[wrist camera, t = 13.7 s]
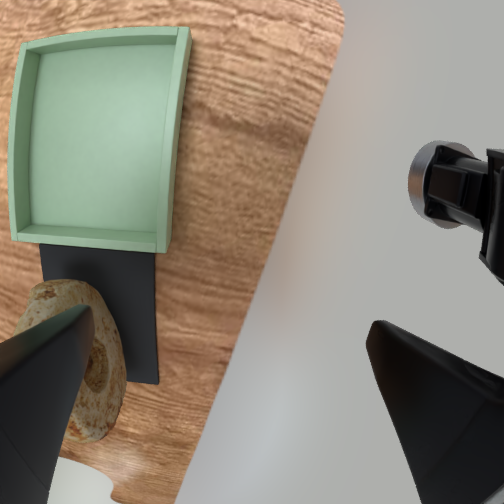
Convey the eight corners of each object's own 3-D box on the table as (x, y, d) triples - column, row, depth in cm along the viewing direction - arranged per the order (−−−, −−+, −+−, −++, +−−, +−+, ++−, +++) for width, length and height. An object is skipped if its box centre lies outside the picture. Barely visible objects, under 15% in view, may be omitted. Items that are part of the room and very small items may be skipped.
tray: (192, 39, 16) (189, 26, 13) (171, 240, 20) (166, 253, 18) (38, 49, 14) (21, 43, 12) (28, 229, 19) (11, 240, 16)
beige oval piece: (142, 368, 23) (121, 470, 14) (103, 372, 23) (73, 466, 14) (95, 252, 19) (26, 337, 10) (54, 261, 19) (-22, 341, 10)
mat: (154, 251, 20) (153, 253, 20) (159, 381, 24) (158, 385, 24) (41, 242, 19) (38, 244, 19) (65, 367, 23) (64, 370, 23)
